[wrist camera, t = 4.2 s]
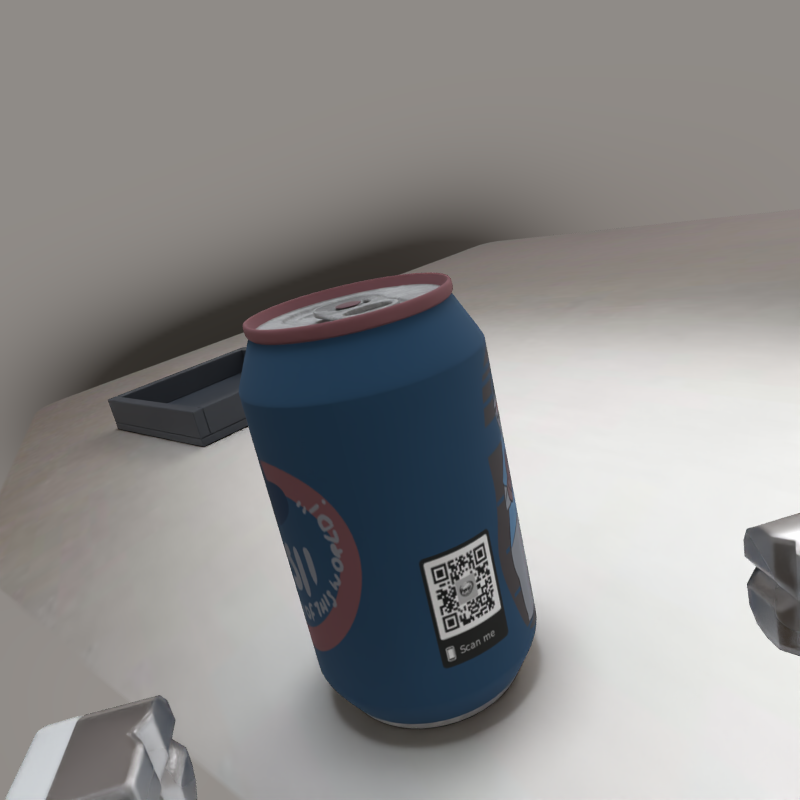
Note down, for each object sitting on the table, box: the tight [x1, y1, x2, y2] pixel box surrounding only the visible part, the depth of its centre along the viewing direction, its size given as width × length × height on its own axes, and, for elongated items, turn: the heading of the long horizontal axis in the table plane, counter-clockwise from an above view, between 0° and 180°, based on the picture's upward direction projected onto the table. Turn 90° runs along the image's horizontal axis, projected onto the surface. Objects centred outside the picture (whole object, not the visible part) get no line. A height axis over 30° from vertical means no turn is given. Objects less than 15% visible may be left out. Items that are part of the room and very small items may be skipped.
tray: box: [108, 347, 248, 447], centre depth 58 cm, size 14×14×3 cm
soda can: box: [239, 273, 536, 728], centre depth 21 cm, size 7×7×12 cm
